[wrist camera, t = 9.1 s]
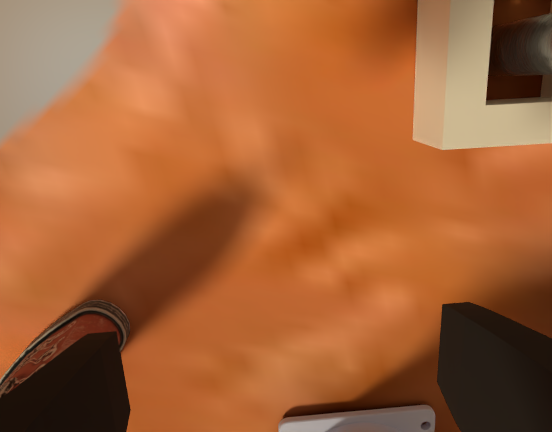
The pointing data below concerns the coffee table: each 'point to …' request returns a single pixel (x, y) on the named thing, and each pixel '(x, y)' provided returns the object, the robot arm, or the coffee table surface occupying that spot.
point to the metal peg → (522, 47)
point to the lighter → (66, 338)
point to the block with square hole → (468, 83)
